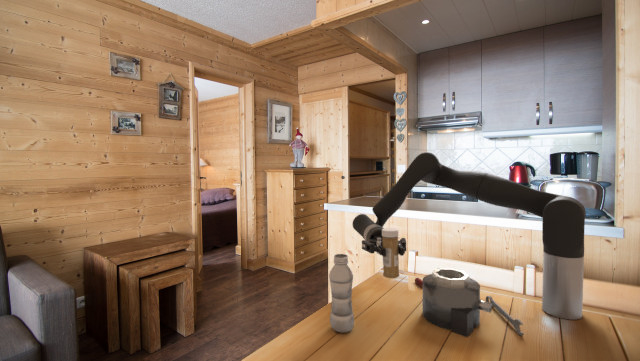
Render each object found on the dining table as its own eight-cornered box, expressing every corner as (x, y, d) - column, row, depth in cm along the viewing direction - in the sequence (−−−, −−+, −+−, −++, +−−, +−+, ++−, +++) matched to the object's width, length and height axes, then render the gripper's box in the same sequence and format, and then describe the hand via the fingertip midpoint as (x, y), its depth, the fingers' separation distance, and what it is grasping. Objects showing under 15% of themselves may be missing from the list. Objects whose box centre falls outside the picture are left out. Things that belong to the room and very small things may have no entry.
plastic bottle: (338, 338, 81) (336, 261, 80) (325, 326, 87) (324, 254, 86) (359, 331, 84) (358, 257, 83) (345, 320, 90) (344, 251, 89)
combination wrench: (485, 292, 99) (519, 324, 79) (489, 292, 99) (525, 324, 79) (485, 304, 99) (519, 339, 80) (489, 304, 99) (525, 339, 79)
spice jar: (402, 277, 88) (401, 229, 87) (387, 279, 87) (385, 231, 86) (394, 272, 93) (393, 226, 92) (380, 274, 92) (379, 228, 91)
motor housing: (436, 300, 101) (436, 261, 101) (499, 319, 89) (499, 275, 88) (412, 317, 91) (412, 274, 90) (479, 342, 78) (480, 292, 77)
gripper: (355, 227, 103) (367, 240, 86) (398, 225, 104) (418, 237, 87) (355, 250, 103) (368, 267, 86) (398, 247, 105) (419, 264, 88)
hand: (393, 252), depth 87 cm, fingers closed on spice jar, 4 cm apart
